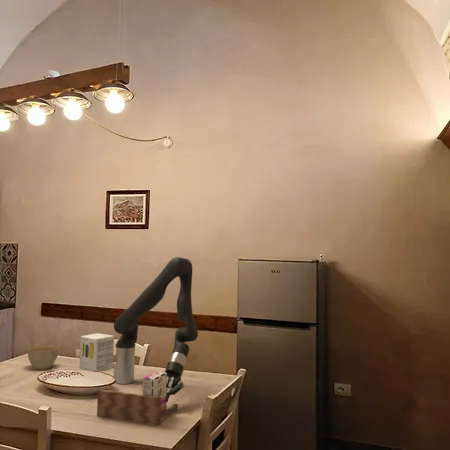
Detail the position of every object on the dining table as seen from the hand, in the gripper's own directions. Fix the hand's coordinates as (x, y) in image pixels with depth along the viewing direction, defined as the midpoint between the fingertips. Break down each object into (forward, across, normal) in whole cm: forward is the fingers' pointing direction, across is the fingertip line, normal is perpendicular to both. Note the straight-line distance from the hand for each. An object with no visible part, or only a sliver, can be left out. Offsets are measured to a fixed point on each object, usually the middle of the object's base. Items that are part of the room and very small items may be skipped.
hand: (163, 402), depth 192 cm
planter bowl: (-25, -90, +30) cm, 98 cm away
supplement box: (-33, -64, +39) cm, 82 cm away
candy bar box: (+7, -1, -2) cm, 7 cm away
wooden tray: (+6, -9, -1) cm, 11 cm away
